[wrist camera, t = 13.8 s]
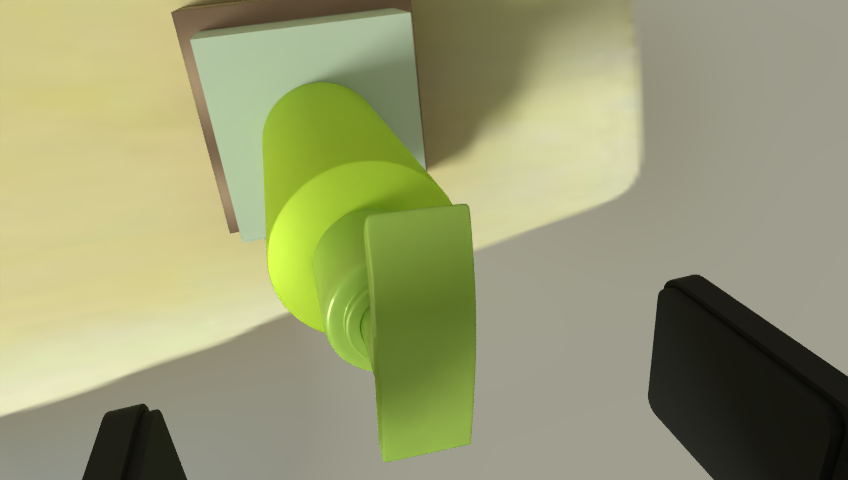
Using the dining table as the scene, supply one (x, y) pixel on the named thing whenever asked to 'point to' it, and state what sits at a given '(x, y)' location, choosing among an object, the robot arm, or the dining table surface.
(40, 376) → the dining table surface
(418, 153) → the pale green square tile
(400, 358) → the soap dispenser
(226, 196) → the riser base
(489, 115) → the dining table surface
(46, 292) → the dining table surface
